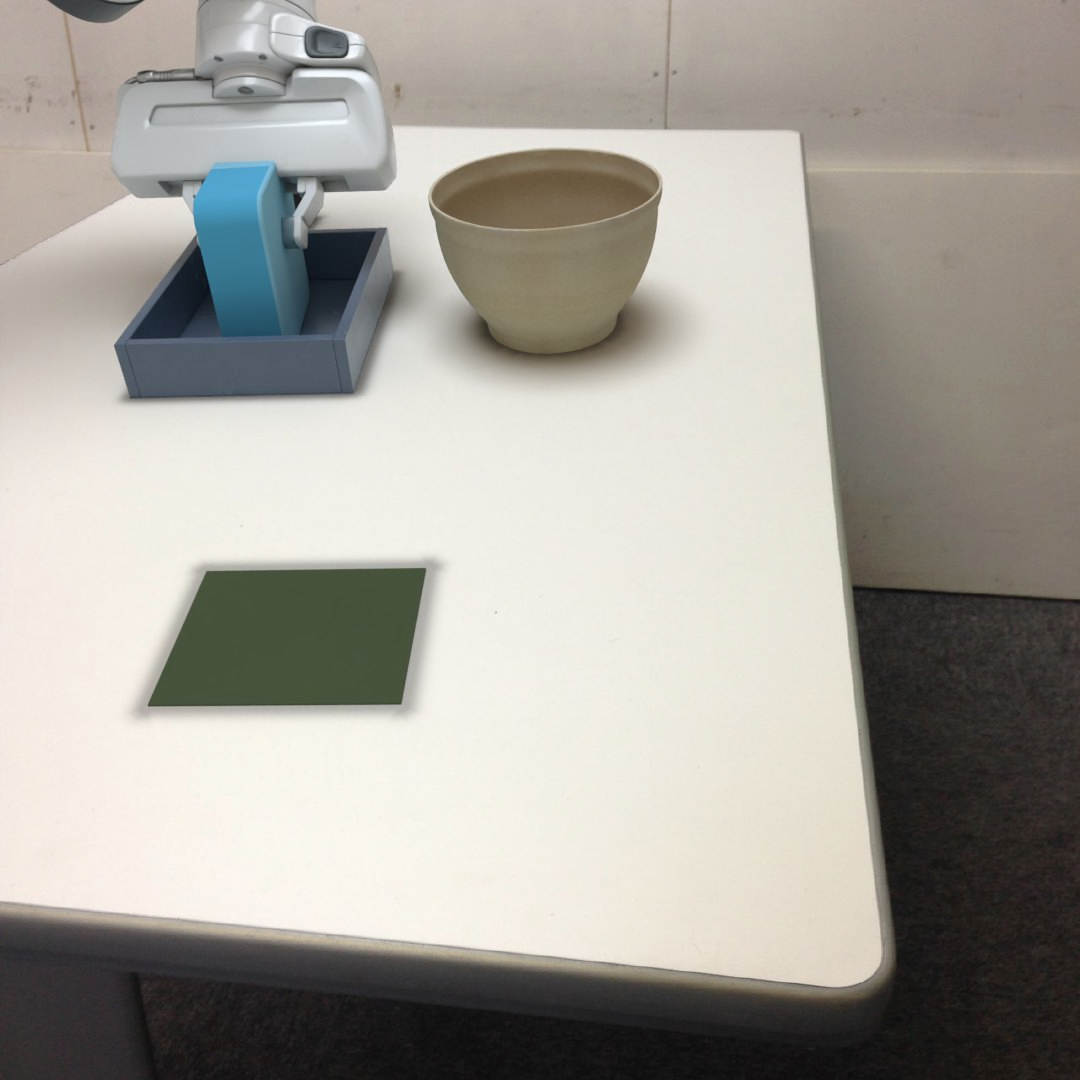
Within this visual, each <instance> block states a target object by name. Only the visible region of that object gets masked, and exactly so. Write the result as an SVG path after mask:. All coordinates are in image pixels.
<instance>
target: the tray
mask: <svg viewBox="0 0 1080 1080" xmlns="http://www.w3.org/2000/svg"><path fill="white" fill-rule="evenodd" d="M388 229H389V228H388V227H359V228H357V227H356V228H327V229H324V228H323V229H308V244H307V248H306V249H303V253H304V259H305V264H306V270H307V275H308V282H309V302H308V305H307V309H306V313H305V316H304V320H303V324H302V327H301V331H300V335H283V336H244V337H222V335H221V331H220V327H219V323H218V319H217V315H216V311H215V306H214V302H213V298H212V294H211V290H210V286H209V282H208V278H207V274H206V269H205V265H204V261H203V257H202V253H201V249H200V247H199V246H198V242H197V233H196V234H195V235H194V236H193V238H192V239H191V241H190V242H189V243H188V244H187V246H186V247H185V249H184V250H183V252H182V253H181V254H180V255H179V257H177V260H176V261H174V263H173V264H172V267H170V268H169V270H168V271H167V273H166V274H165V276H164V277H163V278H162V279H161V281H160V282H159V283H158V285H157V286H156V288H155V289H154V290H153V292H152V293H151V294H150V296H149V297H148V298H147V300H146V301H145V302H144V304H142V306H141V307H140V309H139V310H138V312H137V313H136V315H135V316H134V317H133V318H132V320H131V321H130V323H129V324H128V325H127V327H126V328H125V329H124V330H123V332H122V333H121V334H120V336H119V337H118V338H117V340H116V341H115V343H114V344H113V347H114V350H115V353H116V357H117V360H118V363H119V366H120V370H121V373H122V376H123V380H124V382H125V386H126V389H127V392H128V396H129V399H132V400H133V399H135V400H137V399H172V398H173V399H174V398H175V399H176V398H179V399H180V398H219V397H225V398H227V397H261V396H263V397H264V396H306V395H310V396H311V395H350V394H351V395H353V394H355V391H356V388H357V385H358V383H359V379H360V377H361V373H362V370H363V367H364V365H365V362H366V359H367V356H368V353H369V351H370V350H369V349H370V347H371V343H372V342H373V338H374V336H375V332H376V329H377V327H378V323H379V320H380V318H381V314H382V312H383V308H384V305H385V303H386V299H387V296H388V293H389V290H390V287H391V285H392V282H393V278H394V276H395V275H394V267H393V259H392V253H391V246H390V237H389V230H388Z"/></svg>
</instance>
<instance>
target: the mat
mask: <svg viewBox="0 0 1080 1080" xmlns="http://www.w3.org/2000/svg"><path fill="white" fill-rule="evenodd" d="M426 572H427V568H426V567H402V568H401V567H397V568H396V567H392V568H387V567H385V568H384V567H383V568H327V569H325V568H324V569H322V568H321V569H317V568H315V569H314V568H313V569H257V570H255V569H254V570H253V569H251V570H249V569H248V570H246V569H245V570H244V569H243V570H206V571H205V574H204V576H203V578H202V580H201V582H200V585H199V587H198V590H197V591H196V594H195V596H194V599H193V601H192V603H191V605H190V607H189V610H188V612H187V614H186V617H185V619H184V621H183V623H182V626H181V627H180V630H179V632H178V635H177V637H176V639H175V642H174V643H173V646H172V648H171V651H170V653H169V655H168V658H167V660H166V662H165V664H164V667H163V669H162V671H161V674H160V675H159V678H158V680H157V683H156V685H155V687H154V689H153V692H152V693H151V696H150V698H149V701H148V703H147V707H238V706H240V707H241V706H243V707H245V706H246V707H247V706H248V707H249V706H250V707H251V706H252V707H254V706H256V707H257V706H258V707H259V706H261V707H263V706H264V707H265V706H368V705H369V706H370V705H371V706H376V705H378V706H379V705H381V706H382V705H384V706H385V705H387V706H388V705H389V706H390V705H392V706H393V705H402V703H403V698H404V691H405V687H406V681H407V676H408V670H409V665H410V659H411V653H412V649H413V644H414V638H415V632H416V625H417V621H418V617H419V610H420V606H421V605H420V604H421V599H422V593H423V588H424V583H425V577H426Z"/></svg>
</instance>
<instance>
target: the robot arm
mask: <svg viewBox="0 0 1080 1080" xmlns="http://www.w3.org/2000/svg"><path fill="white" fill-rule="evenodd" d="M46 1H47V2H48V3H50V5H53V6H54V7H56V8H57V9H59V10H61V11H62V12H64V13H66V14H68V15H70V16H72V17H74V18H76V19H78V20H82V21H85V22H88V23H93V24H108V23H112V22H115V21H117V20H120V19H121V18H122V17H123V16H124V15H126V14H127V13H129V12H131V11H132V10H133V9H134V8H135V7H137V6H139V5H141V4H142V3H143V2H145V0H46ZM197 1H198V2H197V9H196V16H195V17H196V19H195V20H196V22H195V45H194V47H195V49H194V50H195V51H194V67H187V68H184V67H183V68H173V69H165V70H155V69H143V70H140V71H138V72H137V73H136V75H135V76H133V77H130V78H128V79H127V80H126V81H124V83H121V85H119V87H118V88H117V89H118V90H117V92H116V110H115V111H116V116H117V118H116V122H115V126H114V131H113V137H112V144H111V152H110V162H109V163H110V170H111V172H112V174H113V175H114V177H115V178H116V179H117V181H118V182H119V183H120V184H121V185H122V186H123V188H124V189H126V190H127V191H128V192H129V194H131V195H132V196H133V197H135V198H137V199H165V198H166V199H168V198H182V199H183V200H184V202H185V204H186V205H187V208H188V209H189V211H190V213H191V214H192V215H193V203H194V198H195V196H196V195H197V193H198V191H199V189H200V188H201V186H202V184H203V182H204V181H205V179H206V177H207V175H208V174H209V172H210V170H211V168H212V167H213V165H214V164H215V163H221V162H252V161H274V162H275V163H276V169H277V175H278V177H283V178H284V180H285V182H286V193H287V194H293V193H299V195H300V196H301V198H302V200H301V202H300V204H299V205H298V207H297V209H296V211H295V213H294V214H293V216H292V217H282V218H281V227H282V229H283V230H282V231H281V235H282V242H283V244H284V245H285V248H286V249H306V248H307V244H308V230H309V228H311V226H312V225H313V222H314V221H315V220H316V218H317V216H318V215H319V214H320V212H321V210H322V208H323V207H324V205H325V194H326V193H350V192H353V193H354V192H383V191H386V190H388V189H389V188H390V187H391V185H392V184H393V183H394V181H395V180H396V179H397V174H398V163H397V149H396V140H395V134H394V129H393V124H392V121H391V117H390V115H389V111H388V107H387V105H386V103H385V100H384V97H383V95H382V94H383V93H382V92H383V91H382V90H383V89H382V80H381V75H380V70H379V68H378V65H377V62H376V60H375V57H374V55H373V53H372V50H371V49H370V47H369V45H368V44H367V42H366V40H365V38H364V37H363V36H361V35H360V34H359V33H356V32H353V31H349V30H345V29H341V28H337V27H334V26H330V25H326V24H323V23H320V22H319V19H318V16H317V11H316V2H317V0H197ZM197 242H198V246H199V247H200V245H199V241H198V236H197Z"/></svg>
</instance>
